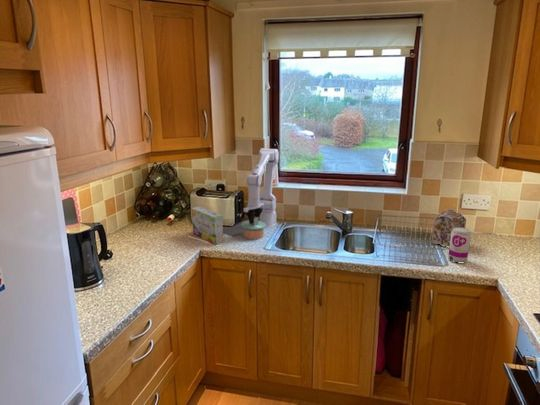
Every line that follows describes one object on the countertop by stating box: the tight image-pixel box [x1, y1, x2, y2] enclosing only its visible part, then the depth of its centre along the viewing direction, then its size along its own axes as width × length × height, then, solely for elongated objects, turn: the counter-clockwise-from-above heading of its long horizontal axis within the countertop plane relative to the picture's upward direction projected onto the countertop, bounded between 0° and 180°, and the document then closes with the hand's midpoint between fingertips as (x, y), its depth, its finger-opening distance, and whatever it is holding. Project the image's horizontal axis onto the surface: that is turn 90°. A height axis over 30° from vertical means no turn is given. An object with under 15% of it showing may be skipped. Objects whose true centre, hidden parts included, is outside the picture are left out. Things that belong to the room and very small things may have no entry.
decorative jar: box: [431, 209, 467, 246], centre depth 211 cm, size 12×12×18 cm
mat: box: [223, 224, 244, 238], centre depth 229 cm, size 16×15×1 cm
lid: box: [240, 216, 266, 230], centre depth 218 cm, size 13×13×5 cm
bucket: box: [243, 228, 265, 240], centre depth 220 cm, size 10×10×5 cm
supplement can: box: [447, 227, 472, 263], centre depth 190 cm, size 8×8×15 cm
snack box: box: [191, 206, 224, 246], centre depth 214 cm, size 21×6×15 cm, turn 42°
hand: (254, 222), depth 218 cm, fingers closed on lid, 3 cm apart
